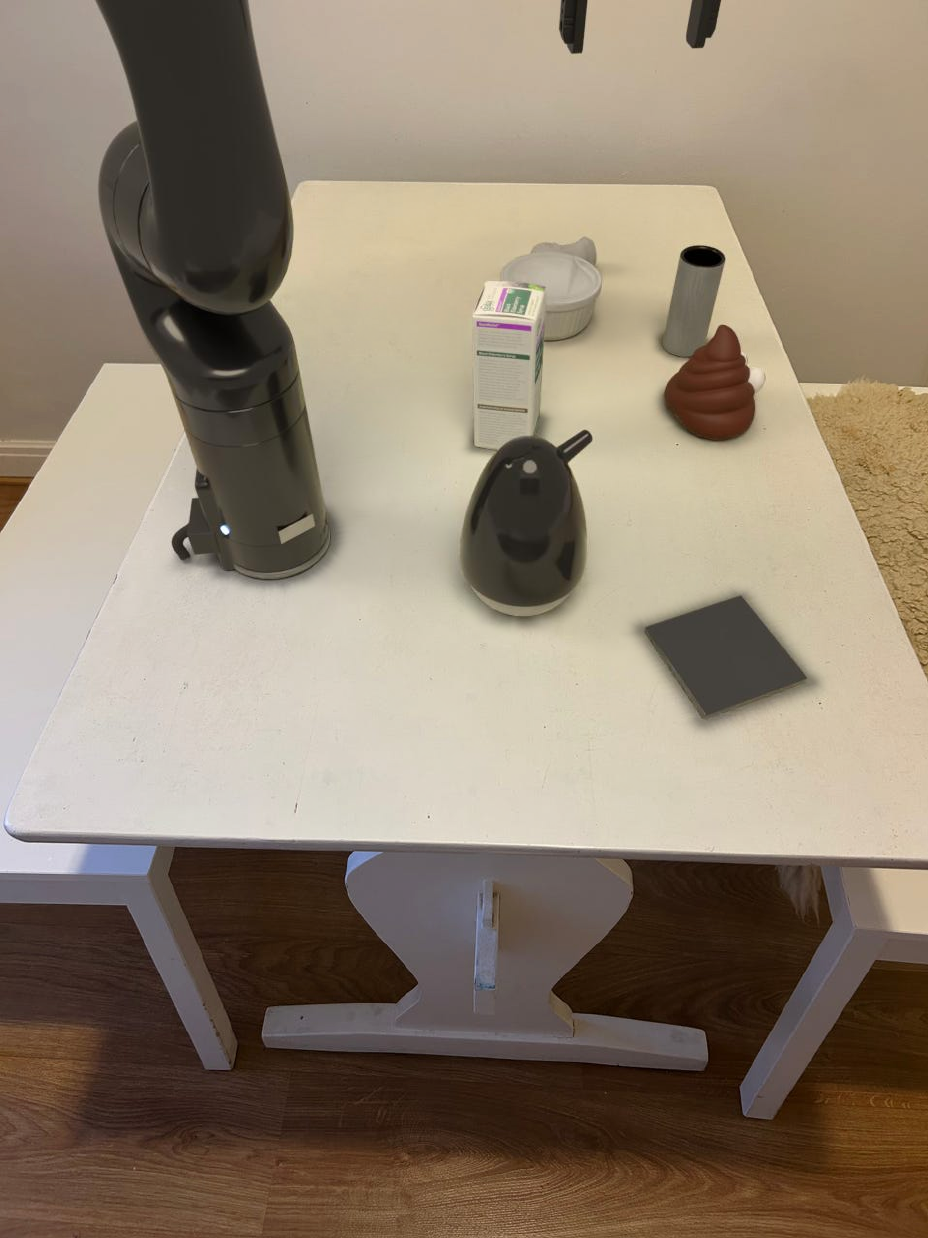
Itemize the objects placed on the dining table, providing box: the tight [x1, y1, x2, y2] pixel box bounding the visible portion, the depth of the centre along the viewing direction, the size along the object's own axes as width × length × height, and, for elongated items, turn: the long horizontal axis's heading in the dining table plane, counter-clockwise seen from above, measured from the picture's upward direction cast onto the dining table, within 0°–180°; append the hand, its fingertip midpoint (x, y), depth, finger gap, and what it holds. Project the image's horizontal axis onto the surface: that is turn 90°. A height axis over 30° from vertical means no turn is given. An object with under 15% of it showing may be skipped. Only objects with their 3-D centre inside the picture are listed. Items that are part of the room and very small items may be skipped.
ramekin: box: [498, 252, 603, 341], centre depth 94 cm, size 11×11×5 cm
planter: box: [662, 244, 727, 358], centre depth 88 cm, size 4×4×10 cm
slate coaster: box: [643, 594, 808, 720], centre depth 65 cm, size 9×9×1 cm
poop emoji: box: [663, 324, 766, 441], centre depth 81 cm, size 10×8×9 cm
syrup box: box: [471, 280, 547, 451], centre depth 77 cm, size 6×6×14 cm
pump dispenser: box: [458, 429, 593, 617], centre depth 64 cm, size 10×10×15 cm
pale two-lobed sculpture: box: [529, 236, 598, 267], centre depth 101 cm, size 4×8×5 cm
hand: (634, 47), depth 58 cm, fingers open, 8 cm apart
